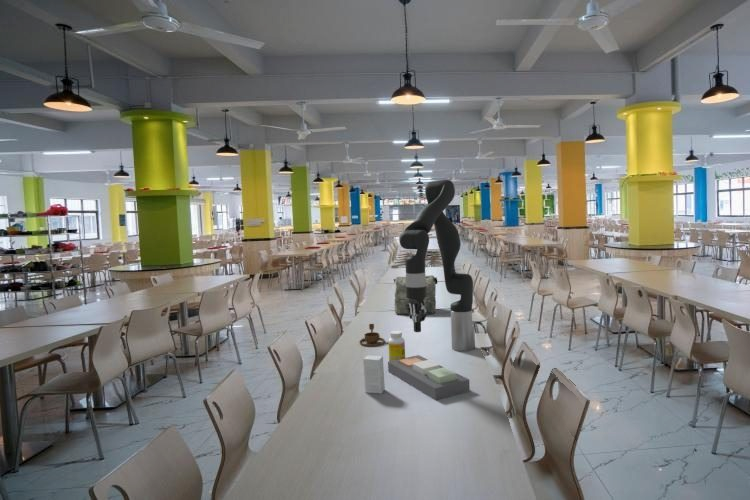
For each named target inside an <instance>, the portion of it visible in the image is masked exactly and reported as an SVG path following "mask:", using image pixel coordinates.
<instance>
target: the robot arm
mask: <svg viewBox="0 0 750 500" xmlns="http://www.w3.org/2000/svg"><path fill="white" fill-rule="evenodd" d="M424 193H425V198H426V201H427V205H425V206H424V207H423V208H422V209H421V210H420V211H419V212H418V214H417V215H416V217H415V219H414V220H413V222H411V223H410V224H409V225H408V226H406V227H405V228H404V229H403V230H402V232H401V233H400V236H399V245H400V246H401V248H403V250H416V253H415V254H414V255H409V256H408V257H407V256H406V258H405V277H406V278H405V283H406V298H408V299H409V304H406V309H407V311H408V314H407V315H408V317H409V319H410V320H411V321H412V322H413V332H414V333H421V332H422V322H424V321H425V320H426V317H427V316H428V314H427V313H428V309H425V307H424V305H425V304H424V298H426V297H427V292H426V276H427V275H426V258H427V252H428V248H429V244H430V236H429V233H430V232H431V231H432V228H433V227H434V230H435V235H436V241H437V244H438V248H439V252H440V257H441V262H442V268H443V275H444V284H445V288H446V291H447V292H448V293H449V294H450V295H458V296H460V298H459V300H457V301H453V302H452V303H450V328H451V330H450V331H451V333H450V334H451V349H452V350H453V351H456V352H470V351H472V350H474V349H476V335H475V330H476V329H475V326H473V301H474V298H473V297H474V280H473V277H472V275H470V274H469V273H457V271H456V269H455V267H456V266H455V262H456V260H457V256H458V254H459V252H460V250H461V244H462V243H461V239H460V235H459V230H458V229H457V226H455V224H454V223H453V222H452V221H451V220H450V218H448V216H447V215H446V214H445V212H444V210H445V209H446V208H447V207H448V206H449V205H450V204H451V203H452V202H453V200H454V198H455V195H456V189H455V185H454V183H453V181H452V180H450V179H440V180H433V181H432V180H431V181H429V182H427V183H426V184H425V187H424Z"/></svg>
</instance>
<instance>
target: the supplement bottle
mask: <svg viewBox="0 0 750 500" xmlns="http://www.w3.org/2000/svg"><path fill="white" fill-rule="evenodd" d="M389 335H390V338H389V339H388V344H387V346H388V362H389V361H394V360H399V359H403V358H406V348H405V347H406V345H405V338H403V337H402V335H403V332H402V331H401V330H392V331H390V333H389Z"/></svg>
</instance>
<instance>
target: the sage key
mask: <svg viewBox="0 0 750 500" xmlns="http://www.w3.org/2000/svg"><path fill="white" fill-rule="evenodd" d="M442 367H443V368H439V369H435V370H431V371H428V379H430V380H432V381H434V382H436V383H438V384H442V383H446V382H450V381H454V380H456V373H457V372H455V371H453V370H451V369H450V368H447V367H445V366H442Z"/></svg>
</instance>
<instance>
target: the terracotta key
mask: <svg viewBox="0 0 750 500" xmlns="http://www.w3.org/2000/svg"><path fill="white" fill-rule="evenodd" d="M411 357H412V356H411ZM406 358H407V359H402V360H399V363H401V364H403V365H405V366H406V367H412V366H413V365H412V363H416V362H421V361H422V360H420V359H418V358H416V357H412V358H408V357H406Z"/></svg>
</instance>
